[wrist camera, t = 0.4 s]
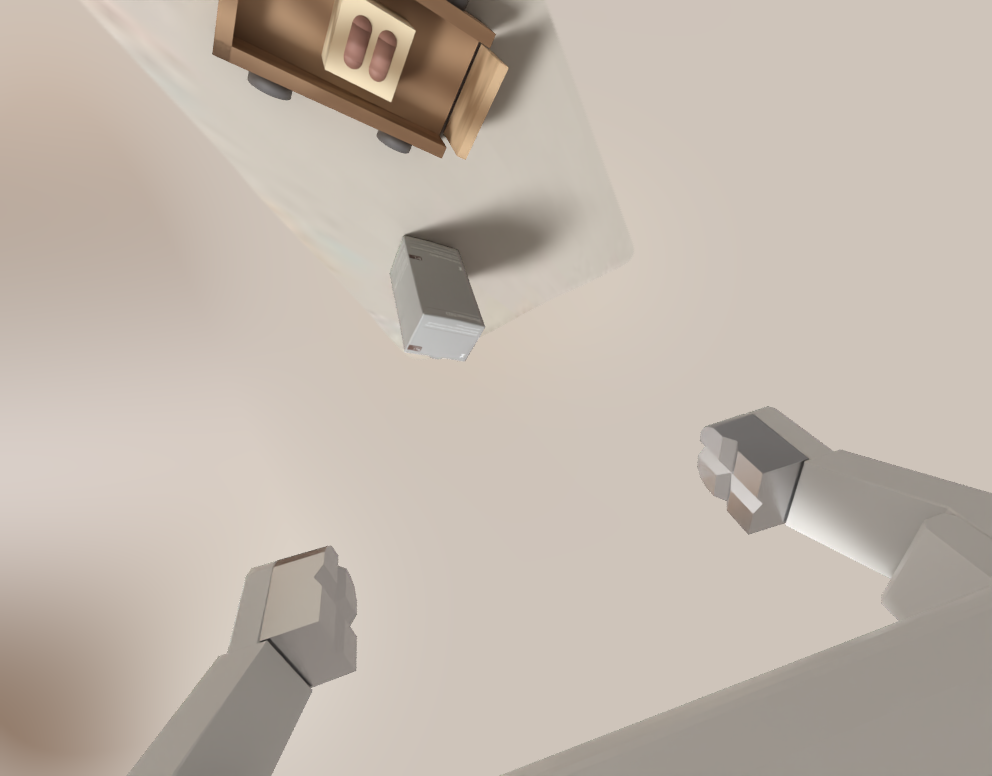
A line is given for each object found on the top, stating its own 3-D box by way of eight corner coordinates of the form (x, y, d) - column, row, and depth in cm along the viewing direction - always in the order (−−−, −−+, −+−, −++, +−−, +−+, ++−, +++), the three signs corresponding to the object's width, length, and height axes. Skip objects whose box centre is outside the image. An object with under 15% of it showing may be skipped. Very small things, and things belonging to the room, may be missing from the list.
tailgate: (481, 40, 45) (501, 59, 41) (489, 45, 46) (509, 65, 42) (441, 133, 51) (456, 157, 47) (449, 136, 51) (464, 161, 47)
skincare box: (458, 248, 63) (492, 322, 53) (439, 289, 67) (468, 365, 57) (399, 231, 58) (425, 310, 49) (383, 277, 62) (404, 357, 53)
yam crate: (340, -23, 38) (346, -11, 35) (406, 18, 41) (416, 32, 39) (321, 55, 42) (325, 71, 39) (384, 87, 45) (392, 104, 42)
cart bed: (241, -171, 32) (239, -171, 29) (489, 5, 44) (503, 17, 41) (213, 56, 40) (210, 72, 38) (427, 153, 52) (436, 170, 49)
